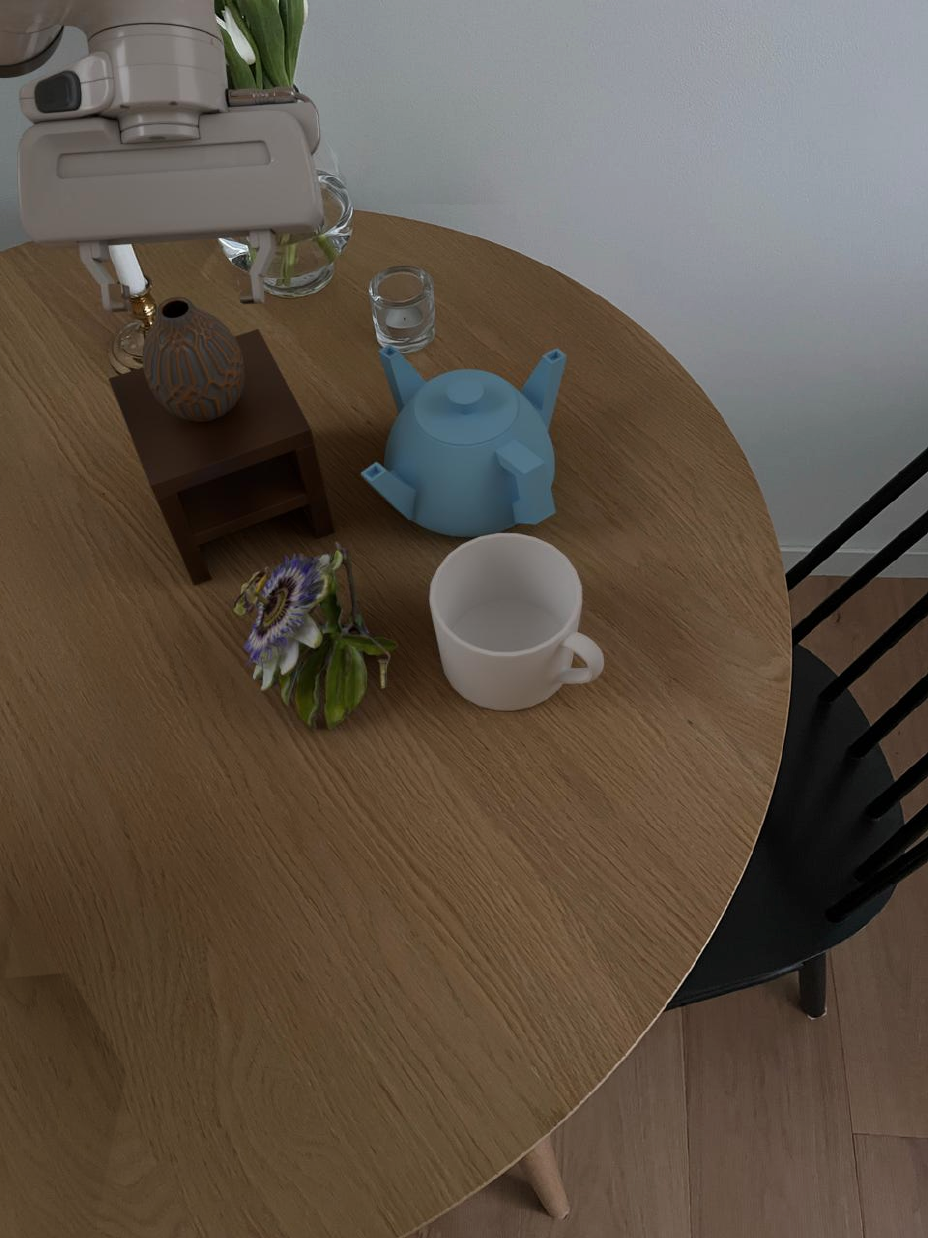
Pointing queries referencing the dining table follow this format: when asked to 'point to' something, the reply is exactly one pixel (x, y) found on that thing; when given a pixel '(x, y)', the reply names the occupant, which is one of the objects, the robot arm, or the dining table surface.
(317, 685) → the passion flower
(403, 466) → the teapot
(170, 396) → the vase
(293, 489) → the stand
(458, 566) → the mug
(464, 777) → the dining table surface
